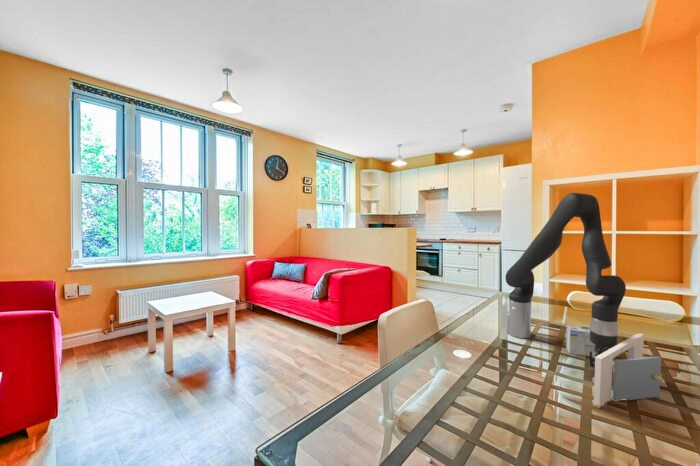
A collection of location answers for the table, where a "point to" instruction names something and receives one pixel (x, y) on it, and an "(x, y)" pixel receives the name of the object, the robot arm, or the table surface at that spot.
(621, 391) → the door
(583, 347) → the light bulb box
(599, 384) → the wall frame
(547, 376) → the table surface
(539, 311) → the table surface
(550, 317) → the table surface
